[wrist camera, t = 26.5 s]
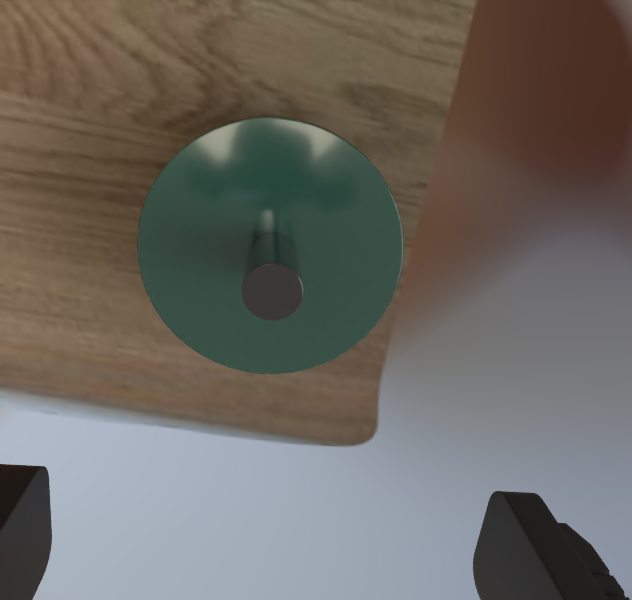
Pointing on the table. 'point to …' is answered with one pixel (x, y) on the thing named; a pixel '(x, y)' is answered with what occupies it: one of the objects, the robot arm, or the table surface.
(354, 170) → the lid
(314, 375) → the table surface
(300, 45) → the table surface
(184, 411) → the table surface
